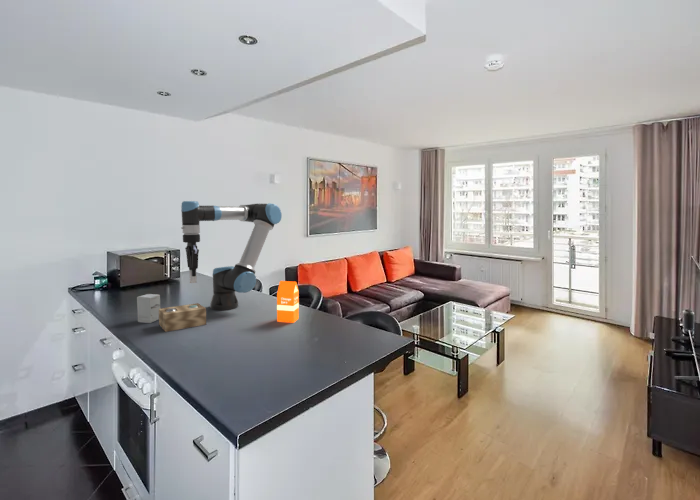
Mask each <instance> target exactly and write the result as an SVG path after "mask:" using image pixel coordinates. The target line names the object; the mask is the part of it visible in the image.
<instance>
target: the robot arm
mask: <svg viewBox="0 0 700 500" xmlns="http://www.w3.org/2000/svg"><path fill="white" fill-rule="evenodd" d="M180 207H181V222H182V223H181V224H182V225H181V226H182V227H180V228H181V230H182V233H183V235H182V242H183V243H185V244H186V247H185V248H184V249H185V253H186V262H187V268H188V271H189V283H190V284H196V283H198V282H197V269H199V267H198V266H199V251H200V249H198V246H197V243H200V242H201V234H200V233H201V226H200V222H210V221H212V222H215V221H231V220H232V221H233V220H234V221H240V222H247V223H253V224H254V226H253V229H252V231H251V234H250V236H249V239H248V241H247V243H246V246H245V248H244V251H243V253H242V254H241V258H240V259H239V262H238V263H236V264H235V265H234V266H232V265H230V266H229V265H227V266H220V267H214V269H212V288H213V290H212V292H213V293H212V298H211V300H210V309H211V310H213V311H228V310H233V309H236V308H238V307H239V301H238V297H237V296H236V295H237V294H236V292H237V293H243V294H244V293H245V294H247V293H249V292H251V291H252V290H253V289H254V288H255V286H256V283H257V277H256V270H255V267H256V265H257V262H258V260H259V257H260V255H261V252H262V249H263V247H264V244H265V242H266V240H267V238H268V234H269V232H270V231H272V230H273V229H274V226H275V225H278V224H279V223H280V222H281V221H282V211H281V208H280V206H278V204H276V203H270V202H269V203H251V204H240V205H238V206H234V205H233V206H230V205H229V206H227V205H226V206H222V205H200V204H199V201H195V200H193V201H192V200H191V201H190V200H189V201H188V200H186V201H185V200H183V201H182V202H181V205H180Z"/></svg>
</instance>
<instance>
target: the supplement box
mask: <svg viewBox="0 0 700 500" xmlns="http://www.w3.org/2000/svg"><path fill="white" fill-rule="evenodd" d="M136 305H137V310H136V311H137V323H145V324H151V323H153V322H156V321H159V309H161V295H160V294H154V293H153V294H152V293H146V294H144V295H139V296H137V297H136Z"/></svg>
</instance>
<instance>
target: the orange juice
mask: <svg viewBox="0 0 700 500" xmlns="http://www.w3.org/2000/svg"><path fill="white" fill-rule="evenodd" d="M299 294H300V292H299V286H298V283H297V281H289V280H288V281H287V280H280V281H279V284H278V289H277V293H276V322H277V323H278V322H279V323H287V324H289V323H292V324H294V323H296V321H298V320H299V317H300V316H299V315H300V313H299V312H300V311H299V310H300V307H299V306H300V298H299V297H300V295H299Z"/></svg>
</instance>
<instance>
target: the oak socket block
mask: <svg viewBox="0 0 700 500" xmlns="http://www.w3.org/2000/svg"><path fill="white" fill-rule="evenodd" d="M192 305H197V306H198V308H192V309H189V307H190V306H192ZM170 308H174V309H176V311H171V312H166V310H167V309H170ZM158 325H160V326H161V327H162V328H161V327H160V326H159V327H160V328H161V329H162V330H163V331H164V332H165V333H166V332H167V333H168V332H172V331H179V330H183V329H188V328H194V327H200V326H205V325H207V308H206V307H205V306H203V305H202V304H200V303H198V302H196V303H190V304H185V305H184V304H183V305H176V306H169V307H163V308H161V307H160V309H159V320H158Z"/></svg>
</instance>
